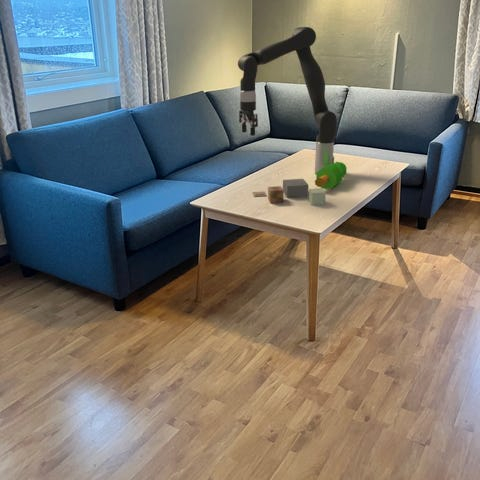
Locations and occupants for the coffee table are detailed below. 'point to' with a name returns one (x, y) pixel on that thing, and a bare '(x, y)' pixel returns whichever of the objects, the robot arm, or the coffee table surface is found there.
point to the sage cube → (317, 196)
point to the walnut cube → (275, 194)
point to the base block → (295, 188)
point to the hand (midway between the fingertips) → (248, 133)
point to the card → (259, 194)
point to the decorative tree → (330, 175)
